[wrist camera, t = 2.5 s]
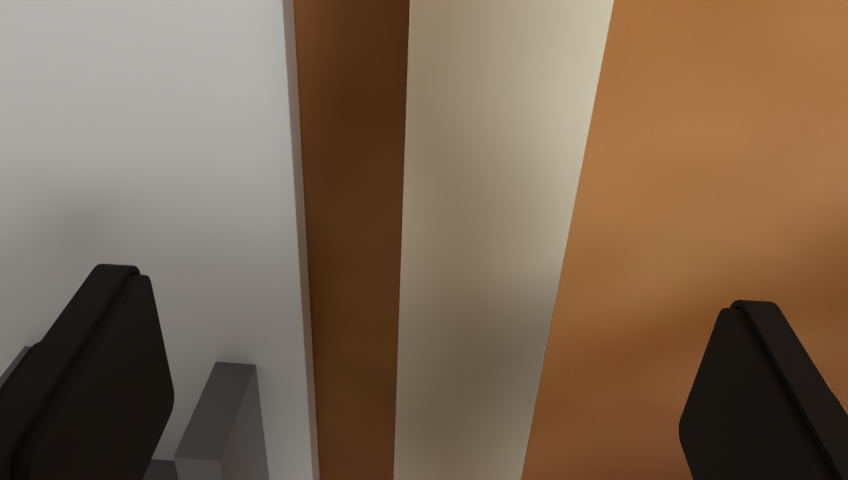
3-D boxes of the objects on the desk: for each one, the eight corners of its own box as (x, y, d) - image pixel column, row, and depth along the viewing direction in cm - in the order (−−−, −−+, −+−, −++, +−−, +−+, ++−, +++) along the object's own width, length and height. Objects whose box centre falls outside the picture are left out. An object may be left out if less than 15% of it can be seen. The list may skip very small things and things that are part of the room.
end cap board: (251, -764, 10) (112, -1093, 6) (320, 488, 25) (293, 611, 22) (-436, -791, 10) (-973, -1123, 6) (50, 465, 26) (-22, 583, 22)
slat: (628, -444, 12) (727, -585, 7) (493, 440, 24) (497, 598, 19) (447, -453, 12) (430, -599, 7) (406, 433, 24) (389, 589, 19)
